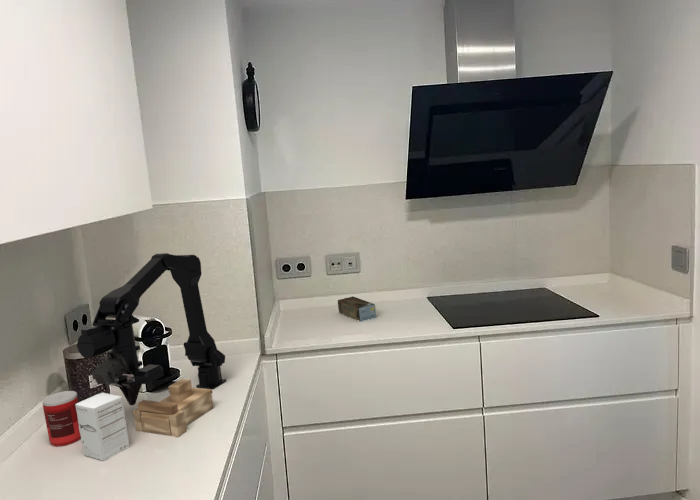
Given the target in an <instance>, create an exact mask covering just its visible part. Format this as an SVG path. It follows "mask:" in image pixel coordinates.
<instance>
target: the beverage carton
mask: <svg viewBox="0 0 700 500" xmlns="http://www.w3.org/2000/svg"><path fill="white" fill-rule="evenodd" d="M337 307H338V308H337V309H338V313H339V314H340V313H341V314H340V315H343V314H344V315H343V316H345V315H346V317H348V318H350V317H351V318H350V319H353V320H355V319H356V321H358V320H359V321H358V322H364V320H365V321H369V320H372V318H373V319H376V318H377V310H376V304H375V303H372V302H370V301H367V300H365V299H361V298H359V297H356V296H350V297H344V298H341V299H338V300H337ZM368 319H369V320H368Z"/></svg>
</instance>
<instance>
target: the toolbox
mask: <svg viewBox="0 0 700 500" xmlns="http://www.w3.org/2000/svg"><path fill="white" fill-rule="evenodd" d="M214 407H215V406H214V401H213V393H212V394H210V395H209V396H207V397H205V398H204V399H202V400H201V401H199V402H197V403H196V404H194V405H192V406H191V407H189V408H188V409H186V410H184V411H180V410H178V412H176V413H174V414H173V415H172V414H171V415H169V419H161V418H154V417H146V416H142V415H141V412H142V411H140V410H138V408H136V409H134V410H132V413H133V420H134V425H135V426H134V427H135V431H136V432H142V433H149V434H155V435H163V436H169V437H171V436H172V437H175V438H179V437H181V436H182V435H184V434H185V433H187V432H188V430H187V427H188V426H189V425H190V424H192V423H193V422H195V421H196V420H197V419H199V418H201V417H202V416H204V415H205V414H206V413H209V412H210V411H211V410H213V409H214Z"/></svg>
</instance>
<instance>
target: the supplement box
mask: <svg viewBox="0 0 700 500" xmlns="http://www.w3.org/2000/svg"><path fill="white" fill-rule="evenodd" d="M75 405H76V411H77V417H78V423H79V429H80V435H81V439H80V440H81V445H82V453H83V455H84V456H87V457H90V458H93V459H97V460H100V461H102V462H104V461H106V460H108V459H111V458H112V457H114V456H115V455H117V454H119V453H121V452H123V451H124V450H126V449H128V448H130V439H129V433H128V426H127V421H126V416H125V415H126V414H125V406H124V402H123V396H122V395H117V394H113V393H112V394H111V393H106V392H100V393H97V394H95V395H93V396H90V397H88V398H86V399H83V400H81V401H79V403H77V404H75Z"/></svg>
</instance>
